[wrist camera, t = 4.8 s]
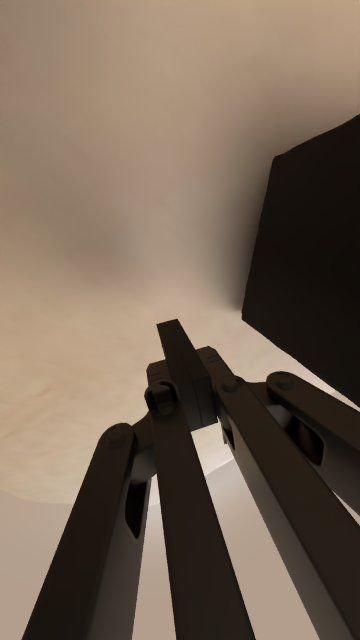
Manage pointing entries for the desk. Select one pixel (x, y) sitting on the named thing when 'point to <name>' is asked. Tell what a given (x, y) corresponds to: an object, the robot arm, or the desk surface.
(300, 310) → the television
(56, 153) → the desk surface
